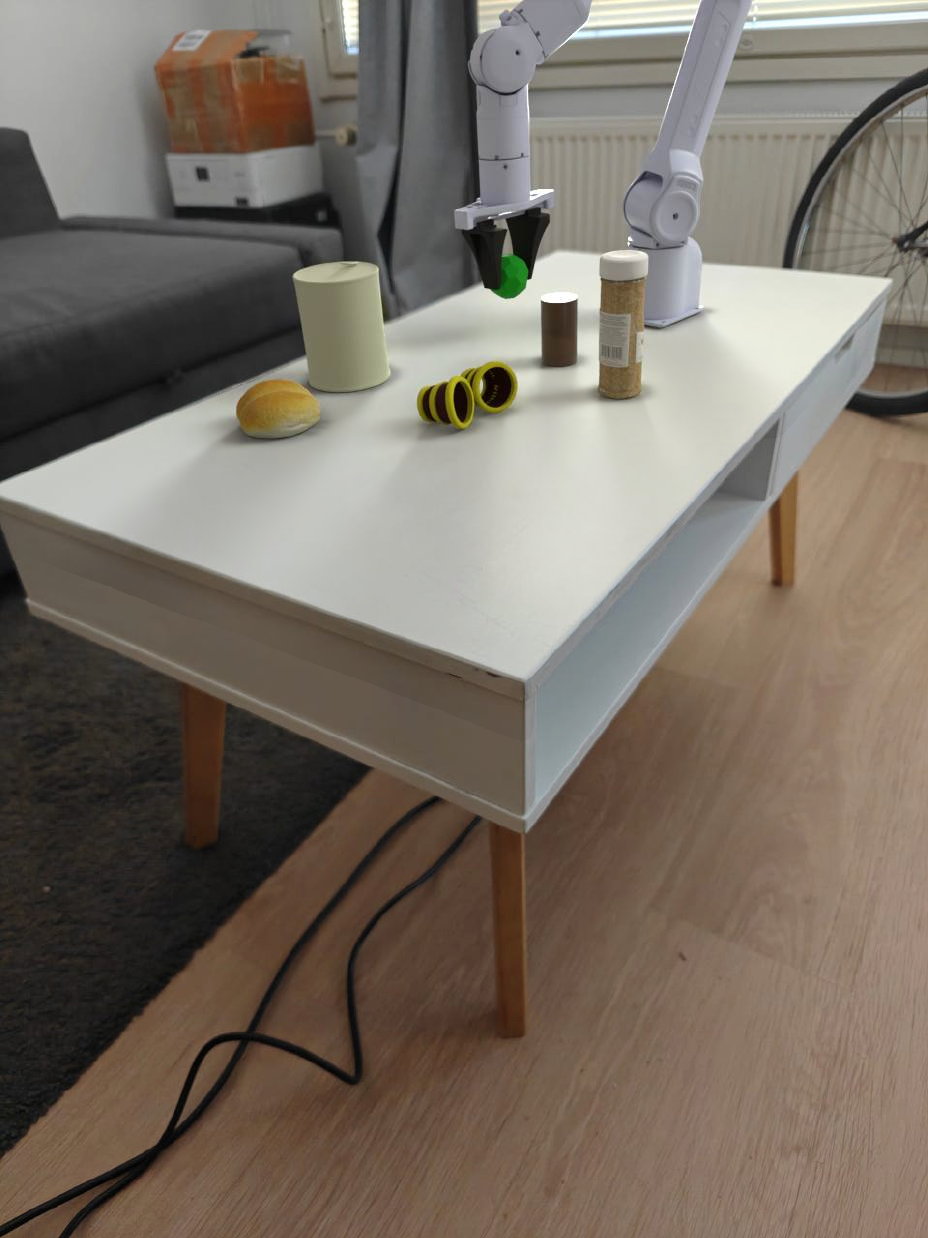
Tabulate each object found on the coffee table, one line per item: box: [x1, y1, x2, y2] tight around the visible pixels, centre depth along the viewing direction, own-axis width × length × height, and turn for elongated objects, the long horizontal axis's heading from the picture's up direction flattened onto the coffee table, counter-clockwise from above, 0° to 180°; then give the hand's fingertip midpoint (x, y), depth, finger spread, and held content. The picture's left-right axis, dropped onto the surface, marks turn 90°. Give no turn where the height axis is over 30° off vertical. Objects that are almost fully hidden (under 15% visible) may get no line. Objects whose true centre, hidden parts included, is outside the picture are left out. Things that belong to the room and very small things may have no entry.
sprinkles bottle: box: [597, 249, 648, 400], centre depth 88 cm, size 5×5×13 cm
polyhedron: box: [489, 253, 528, 300], centre depth 106 cm, size 5×5×5 cm
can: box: [292, 261, 392, 393], centre depth 97 cm, size 9×9×12 cm
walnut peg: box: [540, 292, 579, 368], centre depth 99 cm, size 4×4×7 cm
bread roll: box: [235, 378, 322, 439], centre depth 89 cm, size 8×9×4 cm
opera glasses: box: [416, 360, 519, 430], centre depth 87 cm, size 10×5×5 cm, turn 136°
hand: (508, 283), depth 107 cm, fingers closed on polyhedron, 5 cm apart
